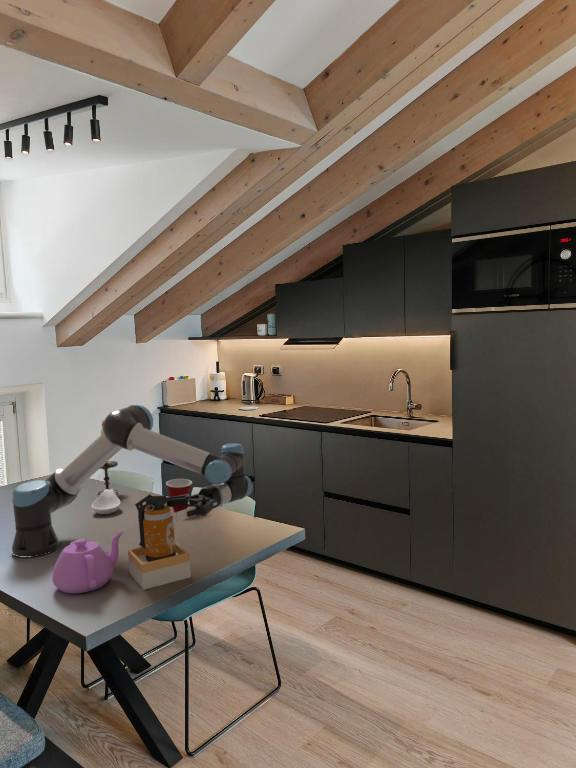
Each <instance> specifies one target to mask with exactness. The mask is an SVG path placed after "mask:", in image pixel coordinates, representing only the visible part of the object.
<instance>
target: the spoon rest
mask: <svg viewBox="0 0 576 768" xmlns="http://www.w3.org/2000/svg"><path fill="white" fill-rule="evenodd" d="M109 489H110V488H109ZM114 490H115V489H114V488H111V489H110V490H108V489H106V488H105V489H104V490H102V491H103V493H102V494H101V495H100V496H97V498H96V499H95V500H94V501H93V503H92V504H91V510H93V511H94V512H95V513H96V514H99V515H103V514H105V515H111V514H113V513H115V512H116V511H118V509H120V507H121V503H122V502H121V500H120V499H119V496H118V495H117V494H115V492H114Z"/></svg>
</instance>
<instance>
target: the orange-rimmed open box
mask: <svg viewBox="0 0 576 768" xmlns="http://www.w3.org/2000/svg"><path fill="white" fill-rule="evenodd" d="M175 552H176V556H172V557H168V558H163V559H159V560H155V561H151V562H148V561H147V560H146V554H145V548H143V547H142V546H139V547H134V548H130V549H129V548H128V550H127V557H128V570H129V575H130V576H131V577H132V578H133V580H134V581H136V583H137V585H139V587H140V588H141V589H142V590H144V591H145V590H148V589H152V588H155V587H160V586H163V585H167V584H171V583H174V582H178V581H182V580H185V579H186V580H187V579H190V578H192V575H191V559H190V552H188V551H187V550H186V549H185V548H184V547H182V545H180V544H179V543H178V542H176V541H175Z"/></svg>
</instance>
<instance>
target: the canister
mask: <svg viewBox="0 0 576 768" xmlns="http://www.w3.org/2000/svg"><path fill="white" fill-rule="evenodd" d="M169 497H170V496H168V497H167V495H164V494H163V495H151V494H150V493H149V494H148V495H147V496H145V497H144V498H142V499H141V500H139V501H137V503H135V507H136V510H137V518H138V520H137V521H138V526H139V527H138V528H139V539H140V540H139V541H140V542H139V544H138V546H139V547H143V548H145V554H146V560H147V561H148V562H151V561H155V560H159V559H163V558H168V557H172V556H176V552H175V542H176V540H175V525H174V516H173V515H172V511H171V507H168V506H166V505H164V504H165V503H166V502H168V501H169V500H170V498H169ZM144 503H145V504H144Z"/></svg>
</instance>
